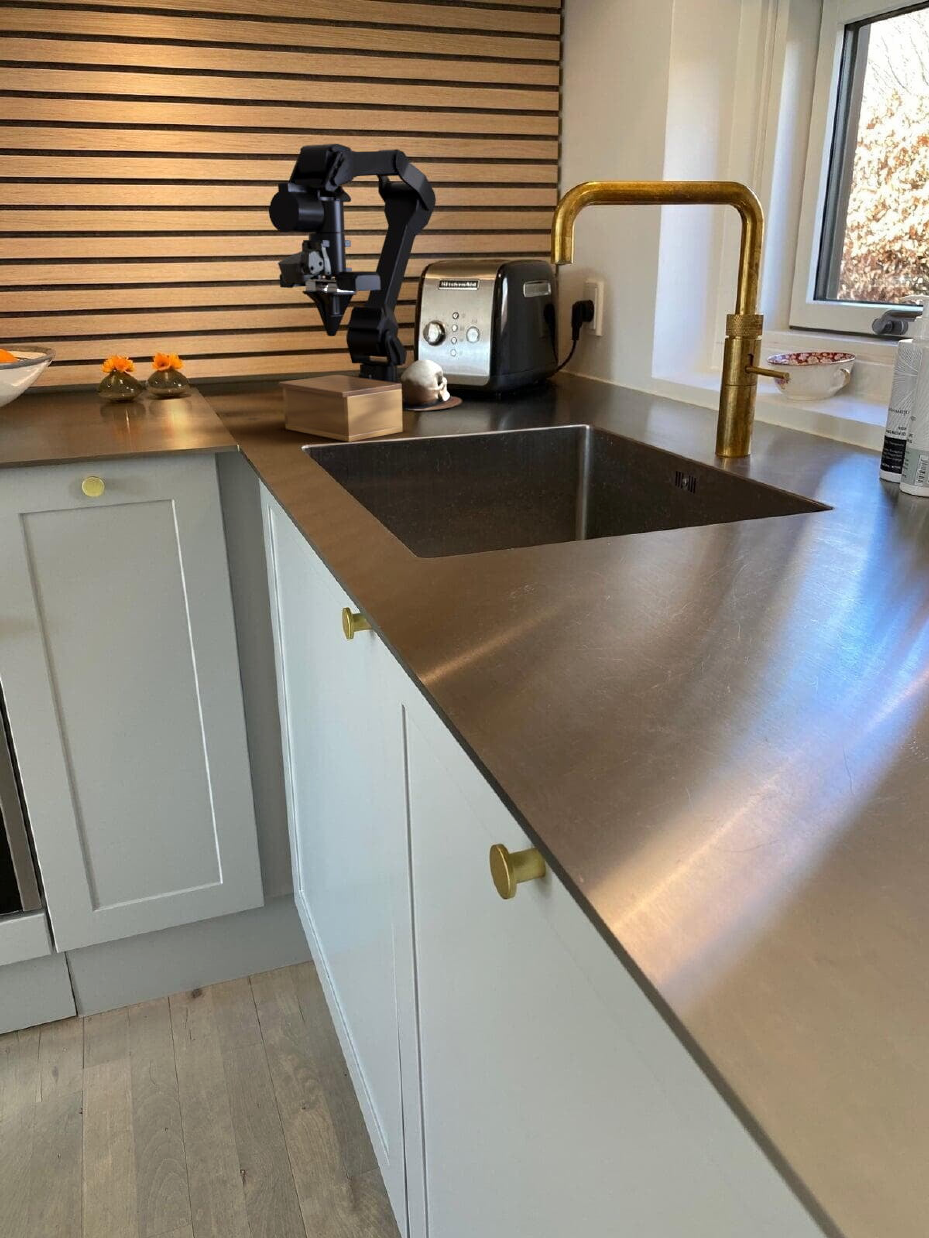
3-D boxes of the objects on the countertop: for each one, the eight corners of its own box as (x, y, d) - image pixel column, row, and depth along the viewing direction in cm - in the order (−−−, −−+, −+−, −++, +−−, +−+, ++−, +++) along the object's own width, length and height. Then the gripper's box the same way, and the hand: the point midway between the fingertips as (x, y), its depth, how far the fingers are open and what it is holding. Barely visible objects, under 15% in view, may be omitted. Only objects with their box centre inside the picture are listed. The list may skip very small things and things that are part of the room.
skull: (419, 390, 171) (449, 350, 164) (451, 434, 169) (482, 395, 162) (373, 396, 162) (402, 353, 156) (405, 442, 160) (436, 401, 154)
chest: (349, 442, 133) (347, 397, 131) (285, 428, 142) (282, 386, 140) (402, 431, 141) (401, 388, 138) (339, 419, 150) (337, 379, 147)
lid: (342, 397, 130) (342, 392, 130) (278, 387, 140) (277, 382, 139) (401, 388, 138) (401, 383, 138) (337, 379, 147) (336, 374, 147)
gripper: (248, 233, 148) (256, 335, 154) (324, 232, 137) (330, 343, 143) (304, 233, 156) (310, 331, 162) (381, 233, 144) (384, 338, 150)
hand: (331, 336), depth 154 cm, fingers closed
